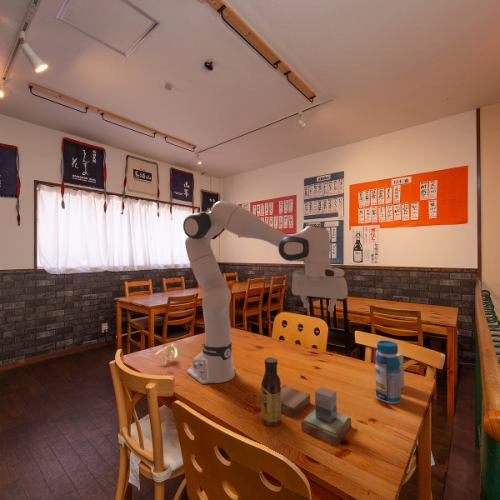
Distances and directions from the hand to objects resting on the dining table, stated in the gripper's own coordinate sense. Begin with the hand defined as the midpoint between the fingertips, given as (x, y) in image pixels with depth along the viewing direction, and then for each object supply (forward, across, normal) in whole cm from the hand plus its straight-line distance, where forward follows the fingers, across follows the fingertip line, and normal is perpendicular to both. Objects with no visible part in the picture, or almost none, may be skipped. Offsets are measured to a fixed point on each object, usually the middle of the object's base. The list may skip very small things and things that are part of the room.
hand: (318, 309), depth 98 cm
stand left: (+33, -8, -8) cm, 35 cm away
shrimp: (+33, -74, -13) cm, 82 cm away
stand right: (+33, +8, -12) cm, 36 cm away
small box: (+33, +16, +29) cm, 47 cm away
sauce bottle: (+33, -7, -20) cm, 39 cm away
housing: (+30, +8, -12) cm, 33 cm away
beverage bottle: (+33, +18, +18) cm, 42 cm away
